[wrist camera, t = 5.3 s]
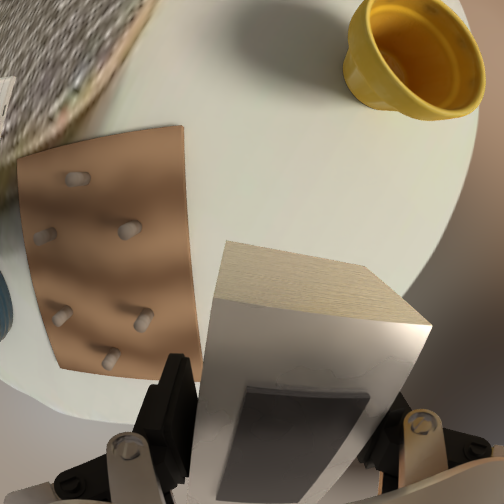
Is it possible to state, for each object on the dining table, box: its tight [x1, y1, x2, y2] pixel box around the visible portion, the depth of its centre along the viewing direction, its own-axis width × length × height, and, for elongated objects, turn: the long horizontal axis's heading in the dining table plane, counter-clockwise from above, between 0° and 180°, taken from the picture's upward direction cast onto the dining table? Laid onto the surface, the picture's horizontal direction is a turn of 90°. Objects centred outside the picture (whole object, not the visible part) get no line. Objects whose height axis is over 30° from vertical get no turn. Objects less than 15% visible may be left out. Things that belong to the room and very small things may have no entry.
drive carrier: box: [187, 240, 432, 504], centre depth 9 cm, size 10×5×5 cm, turn 169°
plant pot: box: [343, 0, 486, 121], centre depth 16 cm, size 10×10×10 cm
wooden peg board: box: [17, 125, 203, 382], centre depth 23 cm, size 24×18×4 cm
